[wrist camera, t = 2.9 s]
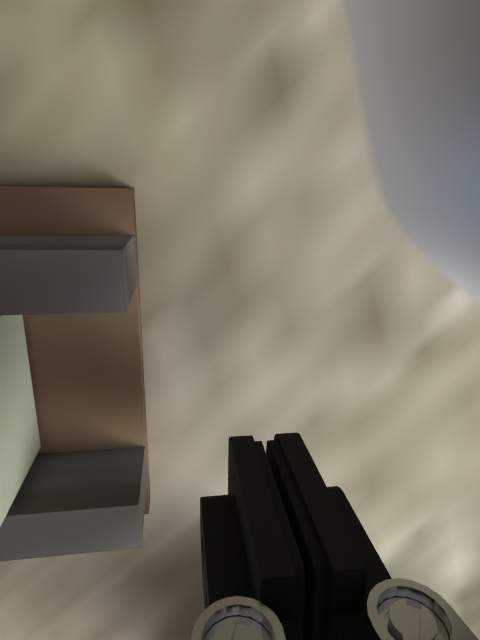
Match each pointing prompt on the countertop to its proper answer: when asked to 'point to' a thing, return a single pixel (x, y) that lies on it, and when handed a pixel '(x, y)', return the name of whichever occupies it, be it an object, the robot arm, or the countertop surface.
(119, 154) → the countertop surface
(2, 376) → the block
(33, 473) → the chute
